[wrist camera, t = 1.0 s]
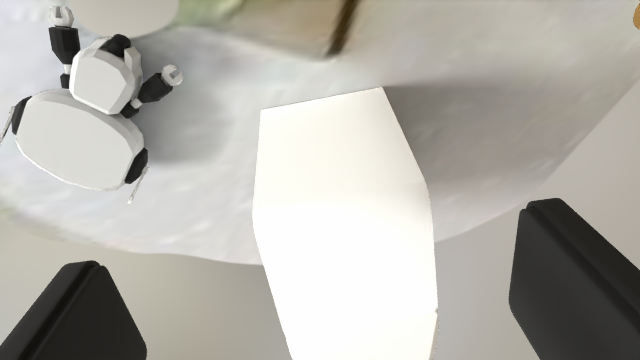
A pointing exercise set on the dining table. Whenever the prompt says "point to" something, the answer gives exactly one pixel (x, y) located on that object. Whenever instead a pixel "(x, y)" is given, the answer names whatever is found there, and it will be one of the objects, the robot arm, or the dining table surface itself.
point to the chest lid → (637, 17)
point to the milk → (346, 230)
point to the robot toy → (89, 111)
